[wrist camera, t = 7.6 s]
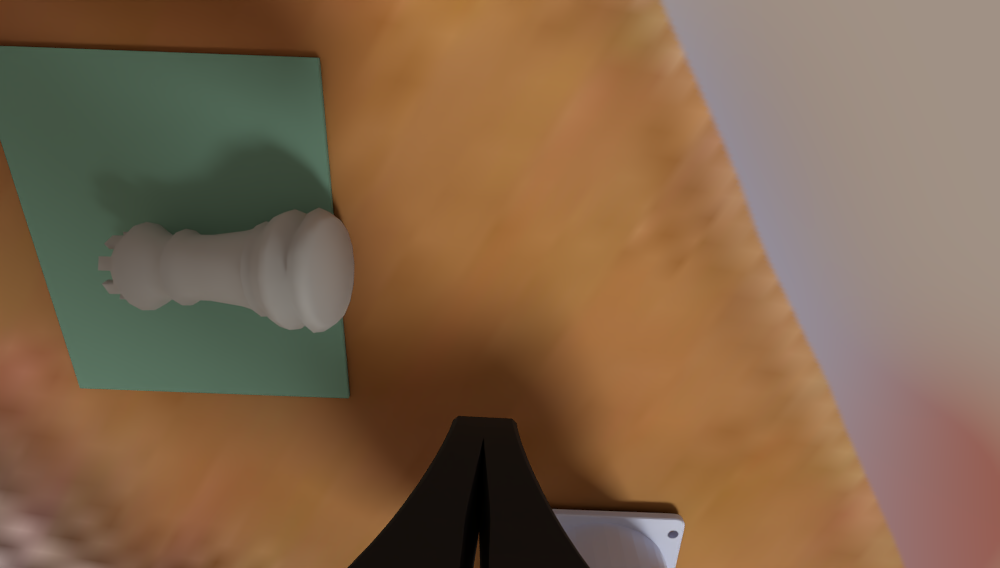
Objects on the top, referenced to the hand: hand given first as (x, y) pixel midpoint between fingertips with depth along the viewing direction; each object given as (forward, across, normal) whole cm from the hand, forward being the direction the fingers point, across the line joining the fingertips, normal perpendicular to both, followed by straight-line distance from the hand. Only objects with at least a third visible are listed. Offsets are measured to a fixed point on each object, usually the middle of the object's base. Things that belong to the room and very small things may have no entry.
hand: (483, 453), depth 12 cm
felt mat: (+10, +12, -1) cm, 16 cm away
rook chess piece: (+8, +6, -1) cm, 10 cm away
